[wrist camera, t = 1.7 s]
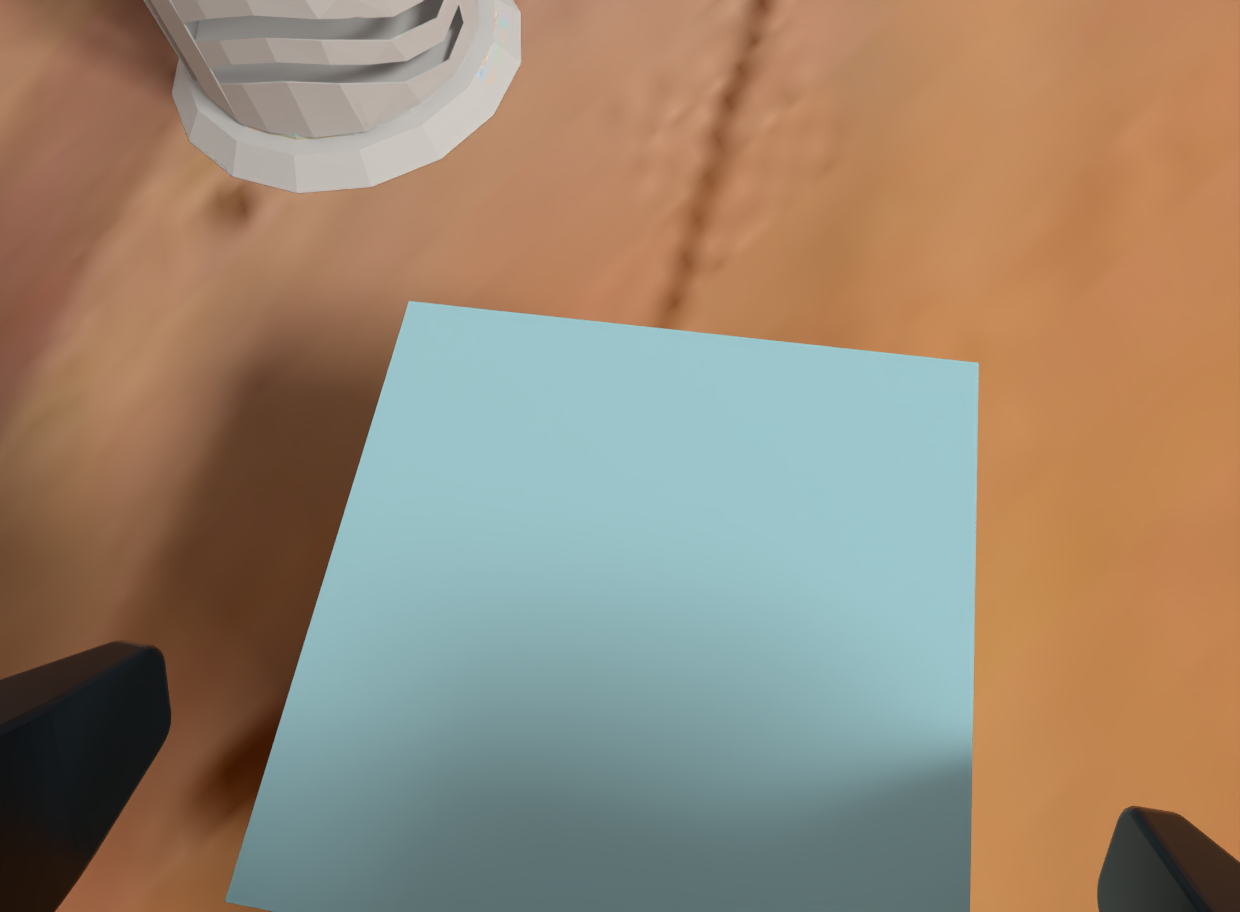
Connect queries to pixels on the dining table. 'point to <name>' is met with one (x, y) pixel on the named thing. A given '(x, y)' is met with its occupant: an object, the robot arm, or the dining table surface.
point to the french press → (336, 83)
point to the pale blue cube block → (636, 633)
